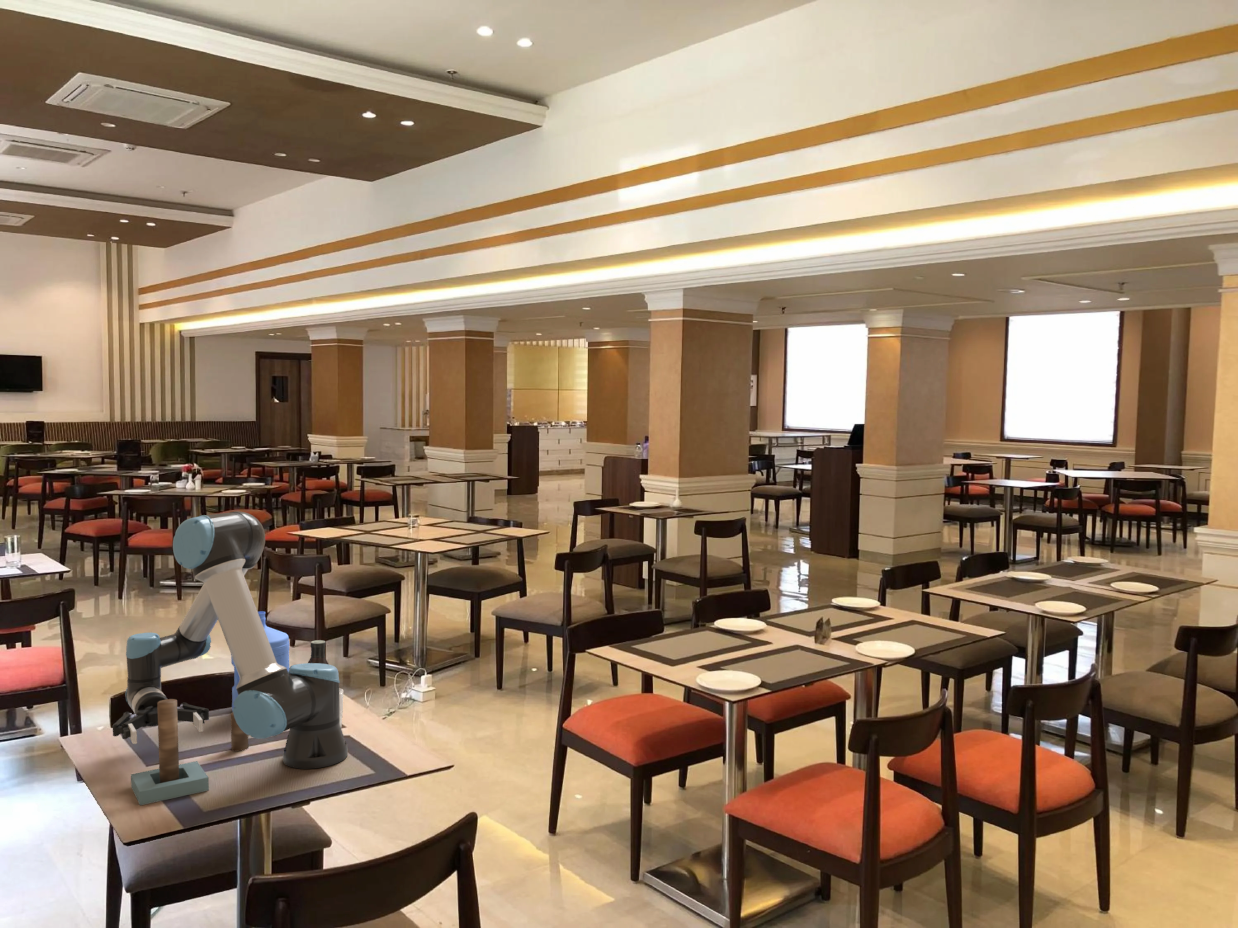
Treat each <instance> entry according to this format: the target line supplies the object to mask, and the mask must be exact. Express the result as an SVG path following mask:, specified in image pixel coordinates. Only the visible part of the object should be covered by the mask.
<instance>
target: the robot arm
mask: <svg viewBox="0 0 1238 928" xmlns="http://www.w3.org/2000/svg"><path fill="white" fill-rule="evenodd" d="M172 540H173V541H172V550H173V551H172V552H173V555H174V559H175V561H176V562H177V563H178V564H179V565H180V566H182V567H183V568H184V569H188V570H191V572H192V573H193V577H194V579H195V580H197V581H199V582H202V583H203V585H202V586H201V588H200V590H199V591H198V593H197V595H196V597H195V598H194V600H193V602H192V603H191V605H190V607H189V609H188V611H187V612H186V614H185V616H184V618H183V619H182V621H181V622H180V625H179V626H178V628H177V630H176V632H175V633H173V634H172V633H171V634H168V635H166V636H165V635H164V636H160V635H159V634H158V633H156V632H142V633H135V634H132V635H130V636H129V637H128V638H127V640H126V652H125V657H126V671H127V681H126V684H127V687H126V689H125V701H126V703H127V705H128V706H129V707H130V708H131V710H132V711H133V714H132V712H129V711H125V712H123V715H122V716H121V717H120V718H119V719H118V720H116V722H114V723H113V725H112V736H113V737H118V736H120V735H121V736H122V740H125V739H126V740H127V739H128V738H129V740H130V741H131V743H132V745H136V744H138V735H137V734H138V731H137V730H138V729H140V728H146V727H158V707H157V703H158V702H159V701H161V700H166V699H168V698H167V696H166V695H165V694H164V692H163V691H162V668H166V667H169V666H172V665H176V664H179V663H183V662H186V661H190V660H195V659H197V658H200V657H202V656H204V655H206V654H208V653H209V651H210V649H211V643H212V638H211V635H210V634H211V633H212V630H213V628H214V627H215V626H216V625H217V622H218V623H219V625H220V628H221V630H222V633H223V636H224V639H225V641H226V644H227V647H228V650H229V652H230V656H231V655H232V658H233V661H234V663H235V666H236V669H237V671H238V674H239V677H240V681H239V683H238V685H237V687H236V689H237V692H238V697H237V698H236V699H235V701H234V706H235V707H234V708H233V711H232V713H233V714H234V718H235V720H236V723H237V724H238V726H239V727H240V729H241V730H242V731H243V732H244V733H246V734H247V735H248V736H250V737H251V738H253V739H257V740H264V739H267V738H270V737H277V736H278V735H280V734H282V733H284V732H286V731H288V730H289V732H288V735H287V738H286V741H285V747H284V748H283V751H282V760H283V761H282V762H283V764H284V765H285V766H287V767H289V768H294V769H300V770H301V769H302V770H303V769H304V770H306V769H320V768H324V767H329V766H334V765H335V764H339V763H341V762H342V761H344V760H346V758H347V757H348V753H349V751H348V743H347V741H346V740H345V736H344V734H343V729H342V727H340V706H339V688H340V683H341V681H340V677H339V676H340V675H339V670H338V668H337V667H336V666H334V665H332V664H329V663H328V664H320V663H308V662H306V663H297V664H293V665H291V666H289V671H287V668H286V667H284V666H281V665H279V664H278V663H277V662H276V659H275V656H274V654H273V651H272V648H271V646H270V643H269V641H268V638H267V635H266V633H265V630H264V627H263V625H262V622H261V619H260V617H259V614H258V612H259V611H258V608H257V606H256V604H255V602H254V599H253V596H252V593H251V591H250V587H249V585H248V583H247V580H246V577H245V575H246V574H247V572H248V570H251V569H253V568H254V567H256V564H258V561H259V560H260V558H261V556H262V554H263V551H264V548H265V544H266V532H265V529H264V527H263V525H262V523H261V522H260V521H259V519H258V518H257V517H255V515H252V514H250V513H249V512H245V511H241V510H240V511H239V510H238V511H237V510H236V511H230V512H223V513H222V512H221V513H213V514H207V515H205V514H203V515H199V516H195V517H191V518H187V519H185V520H184V521H183V522H181V524H179V525H178V526H177V529H176V530H175V535H174V536H173V539H172ZM209 711H210V710H209V708H205V707H201V706H197V705H192V704H189V703H187V702H182V703H180V706H177V716H178V721H179V722H189V723H192V724H193V726H194V727H195V728H196V729H197V731H198V732H200V733H203V732H204V725H205V721H209V720H210V714H209V713H210V712H209Z"/></svg>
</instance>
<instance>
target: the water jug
mask: <svg viewBox="0 0 1238 928" xmlns="http://www.w3.org/2000/svg"><path fill="white" fill-rule="evenodd" d="M258 614H259V617H260V619H261V622H262V625H263V627H264V630H265V633H266V635H267V638H268V641H269V643H270V646H271V648H272V651H273V654H274V656H275V659H276V662H277V663H278V664H279V665H281V666H284V667H286V668H287V671H289V668H290V640H289V639H290V638H289V635H288V634H287V632H283V631H281V630H278V629H275V628H272V627H269V626H267V624H266V620H267V619H266V611H263V610H262V611H258ZM230 656H231V657H230V658H231V659H230V660H231V661H230V662H231V665H232V666H233V672H234V673H233V674H234V676H233V679H234V681H233V682H234V685H233V686H232V687H231V691H232V692H231V695H232V699H231V701H232V702H231V710H232V712H233V708H234V707H235V706H234V701H235V699H236V698H237V697H238V692H237V689H236V687H237V685H238V683H239V681H240V677H239V674H238V671H237V669H236V666H235V663H234V661H233V658H232V655H231V654H230Z"/></svg>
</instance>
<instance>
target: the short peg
mask: <svg viewBox="0 0 1238 928" xmlns="http://www.w3.org/2000/svg"><path fill="white" fill-rule="evenodd" d="M230 743H231V744H230V746H231V751H232V752H242V750H243V751H246V750H248V749H249V735H247V734H246V733H244V732H243V731H242V730H241V729H240V727H239V726H238V724H237V723H236V720H235V718H234V714H233V712H230ZM247 748H248V749H247ZM245 749H246V750H245Z"/></svg>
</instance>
